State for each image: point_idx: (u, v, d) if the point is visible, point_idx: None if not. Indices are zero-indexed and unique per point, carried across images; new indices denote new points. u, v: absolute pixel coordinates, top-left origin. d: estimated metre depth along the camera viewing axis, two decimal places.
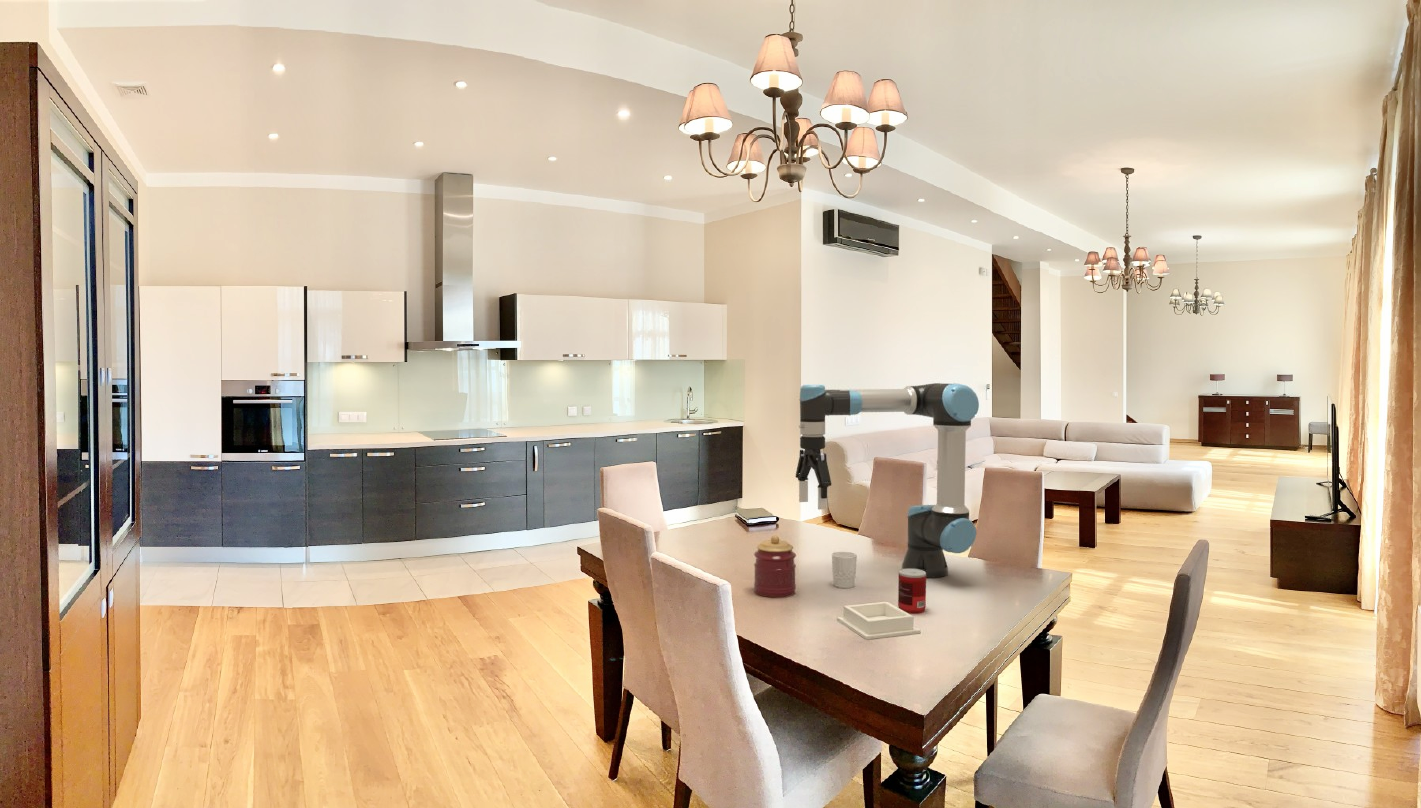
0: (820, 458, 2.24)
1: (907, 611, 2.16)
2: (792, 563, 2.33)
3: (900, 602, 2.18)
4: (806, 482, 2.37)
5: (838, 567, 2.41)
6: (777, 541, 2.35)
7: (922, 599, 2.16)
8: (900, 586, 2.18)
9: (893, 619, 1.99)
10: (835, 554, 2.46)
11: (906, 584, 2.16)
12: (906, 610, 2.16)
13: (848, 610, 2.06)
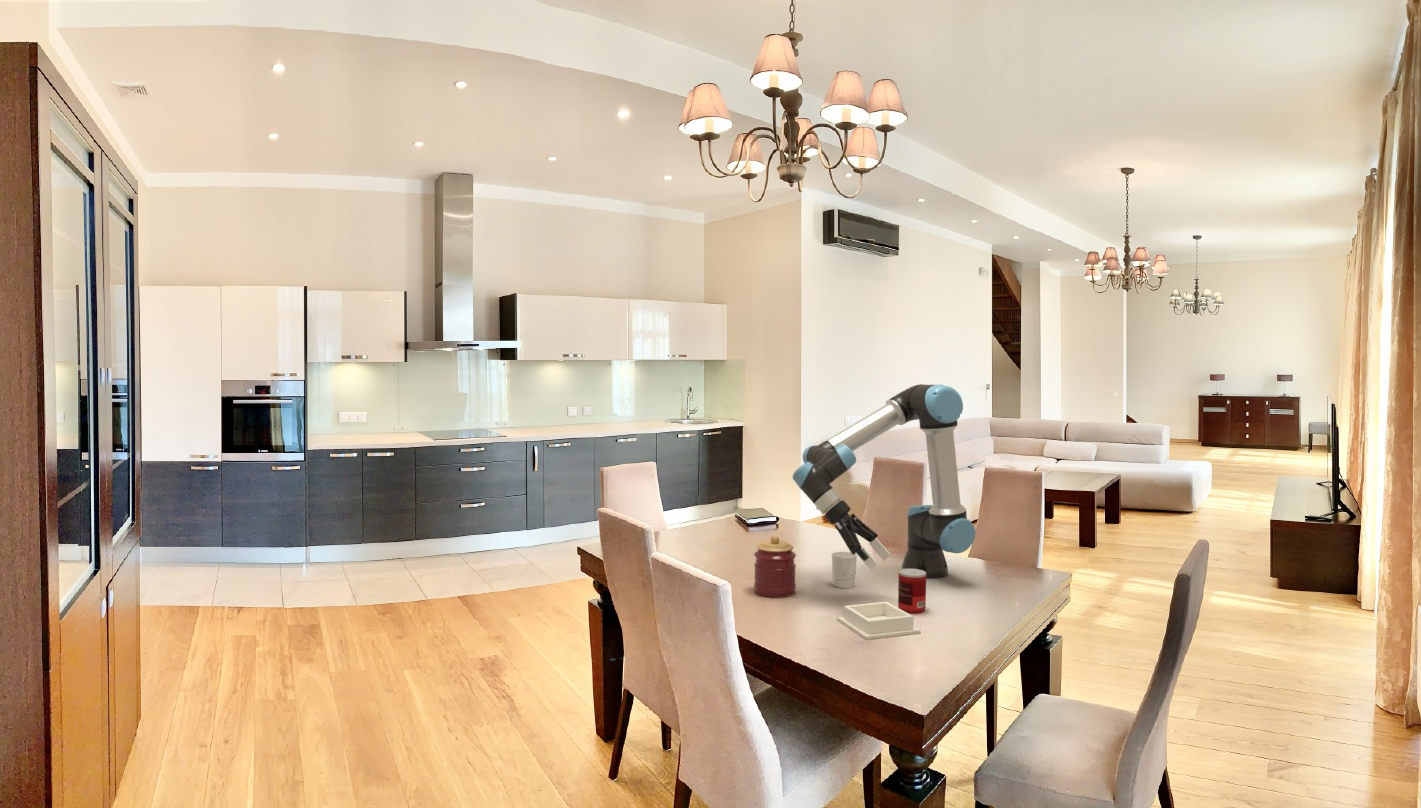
0: (838, 528, 2.21)
1: (907, 611, 2.16)
2: (792, 563, 2.33)
3: (900, 602, 2.18)
4: (875, 540, 2.30)
5: (838, 567, 2.41)
6: (777, 541, 2.35)
7: (922, 599, 2.16)
8: (900, 586, 2.18)
9: (893, 619, 1.99)
10: (835, 554, 2.46)
11: (906, 584, 2.16)
12: (906, 610, 2.16)
13: (848, 610, 2.06)
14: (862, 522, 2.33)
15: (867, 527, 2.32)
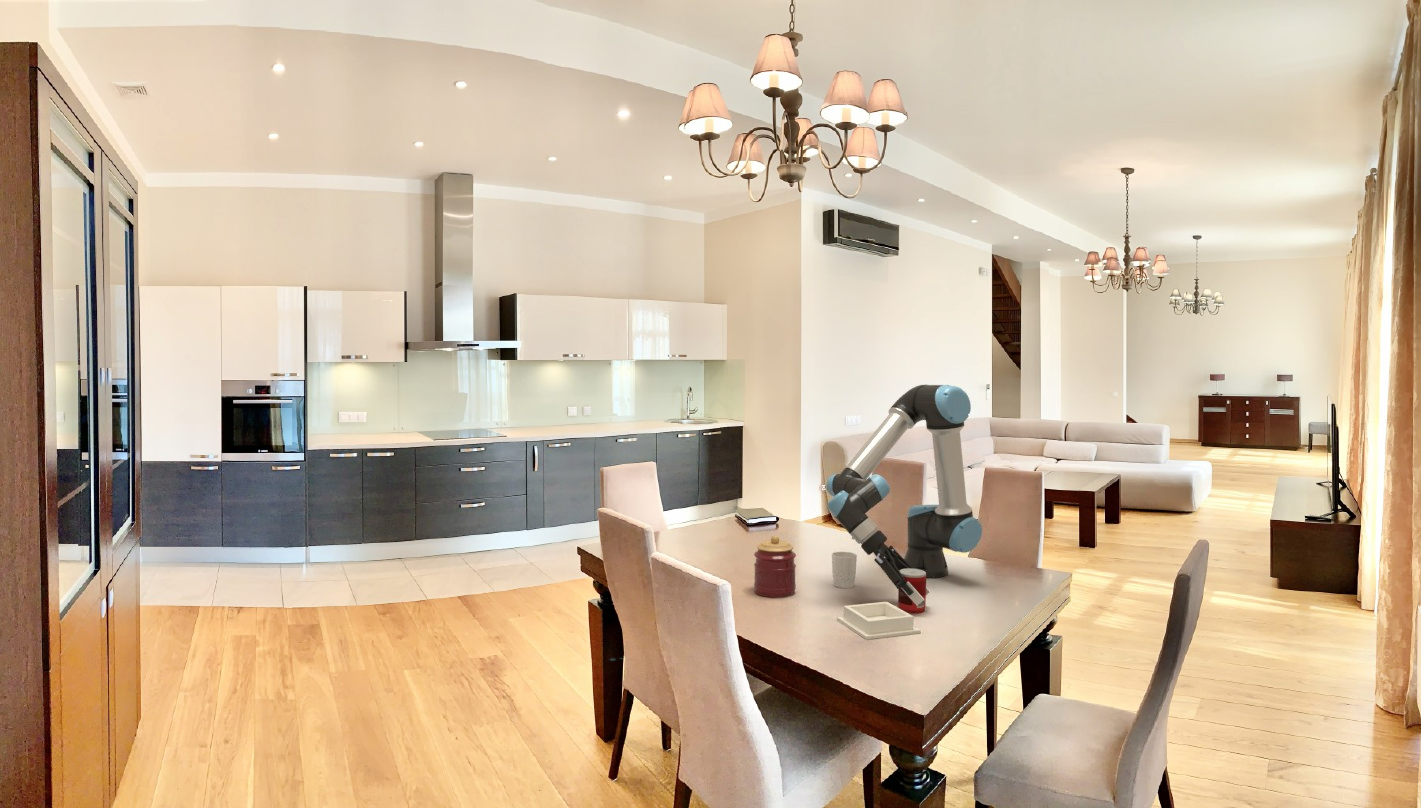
0: (878, 562, 2.17)
1: (907, 611, 2.16)
2: (792, 563, 2.33)
3: (900, 602, 2.18)
4: None
5: (838, 567, 2.41)
6: (777, 541, 2.35)
7: None
8: None
9: (893, 619, 1.99)
10: (835, 554, 2.46)
11: None
12: (906, 610, 2.16)
13: (848, 610, 2.06)
14: (900, 555, 2.27)
15: (905, 561, 2.26)
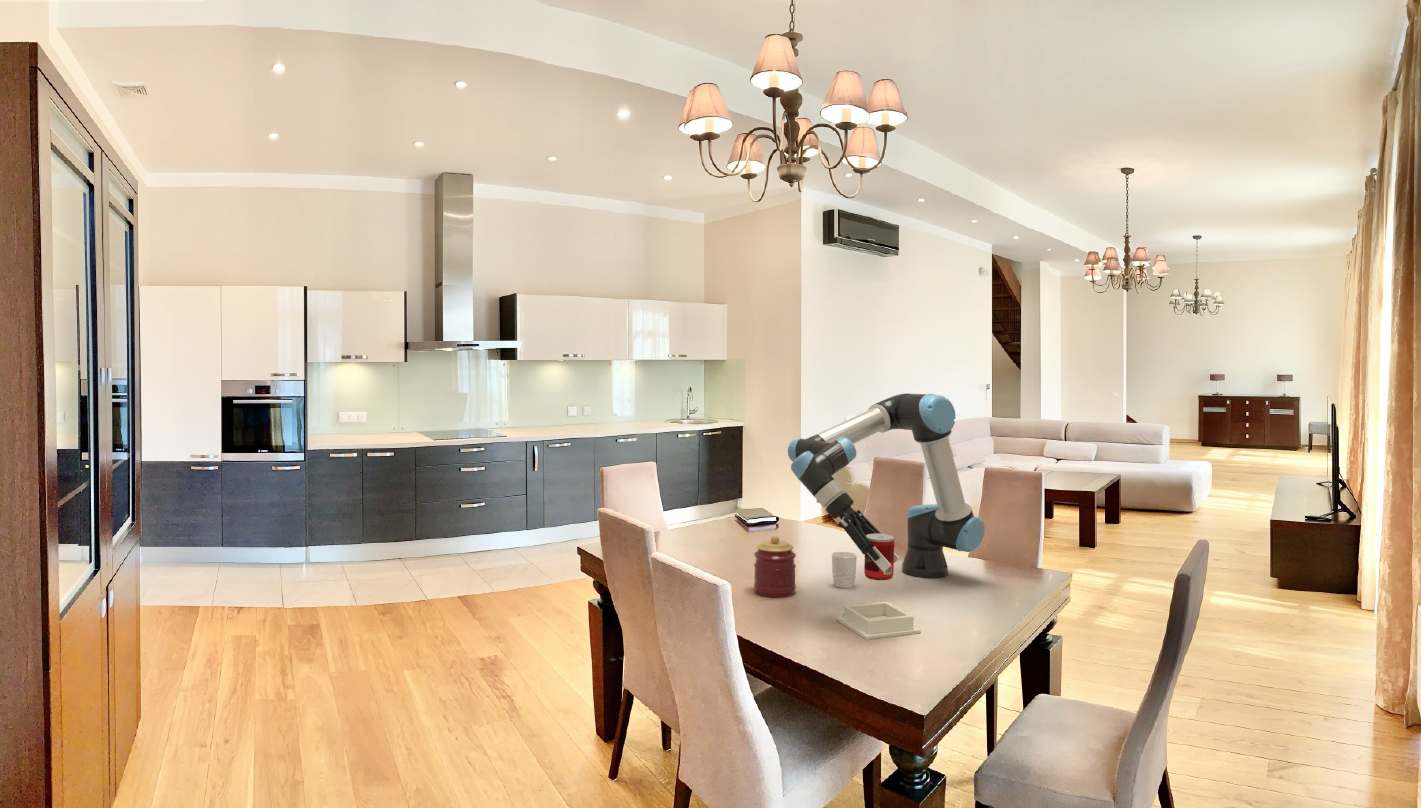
0: (843, 526, 2.02)
1: (873, 578, 2.02)
2: (792, 563, 2.33)
3: (866, 568, 2.04)
4: None
5: (838, 567, 2.41)
6: (777, 541, 2.35)
7: None
8: None
9: (893, 619, 1.99)
10: (835, 554, 2.46)
11: None
12: (872, 577, 2.02)
13: (848, 610, 2.06)
14: None
15: (873, 526, 2.12)
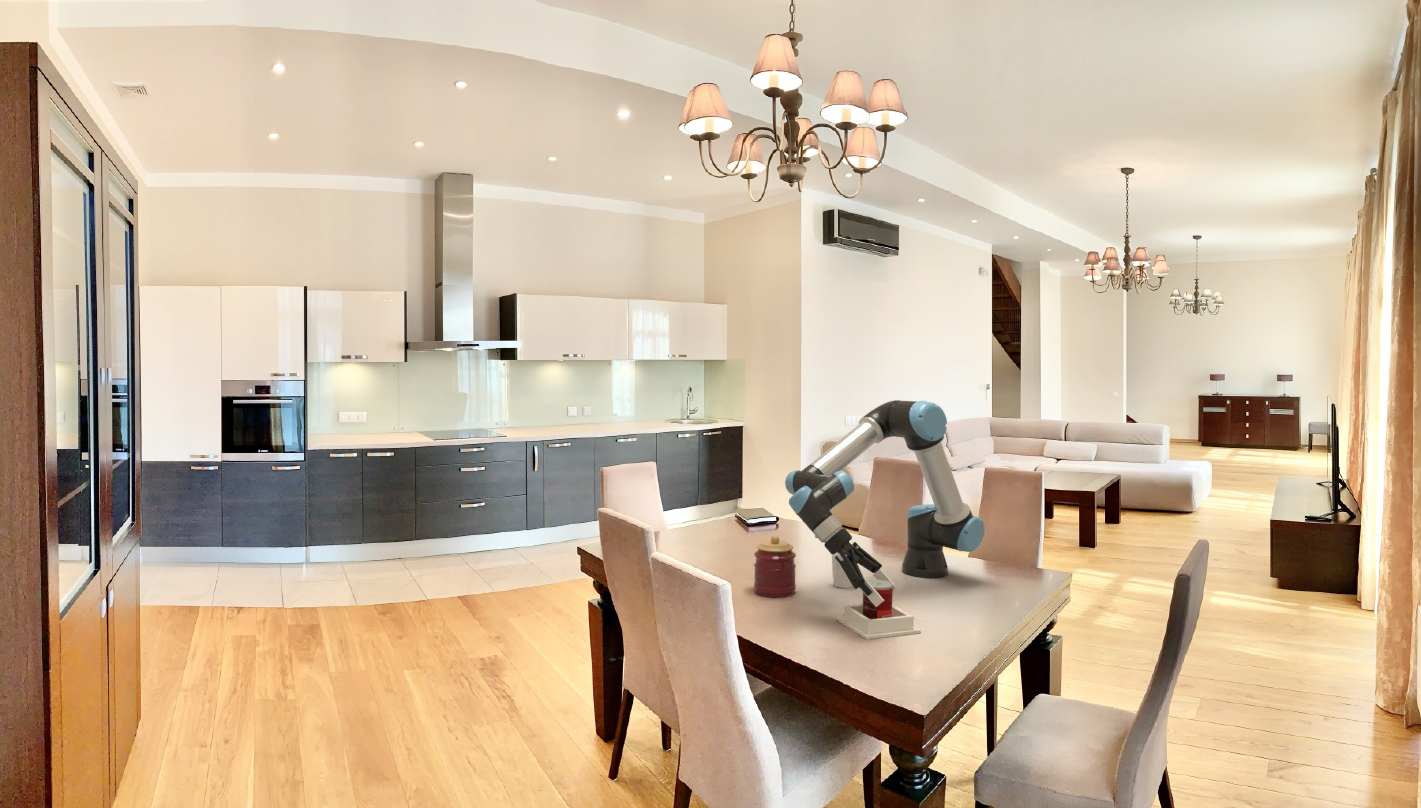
0: (839, 560, 2.02)
1: None
2: (792, 563, 2.33)
3: None
4: (879, 571, 2.11)
5: (838, 567, 2.41)
6: (777, 541, 2.35)
7: (888, 613, 2.01)
8: (864, 598, 2.03)
9: (893, 619, 1.99)
10: (835, 554, 2.46)
11: None
12: None
13: (848, 610, 2.06)
14: (865, 551, 2.13)
15: (870, 556, 2.13)
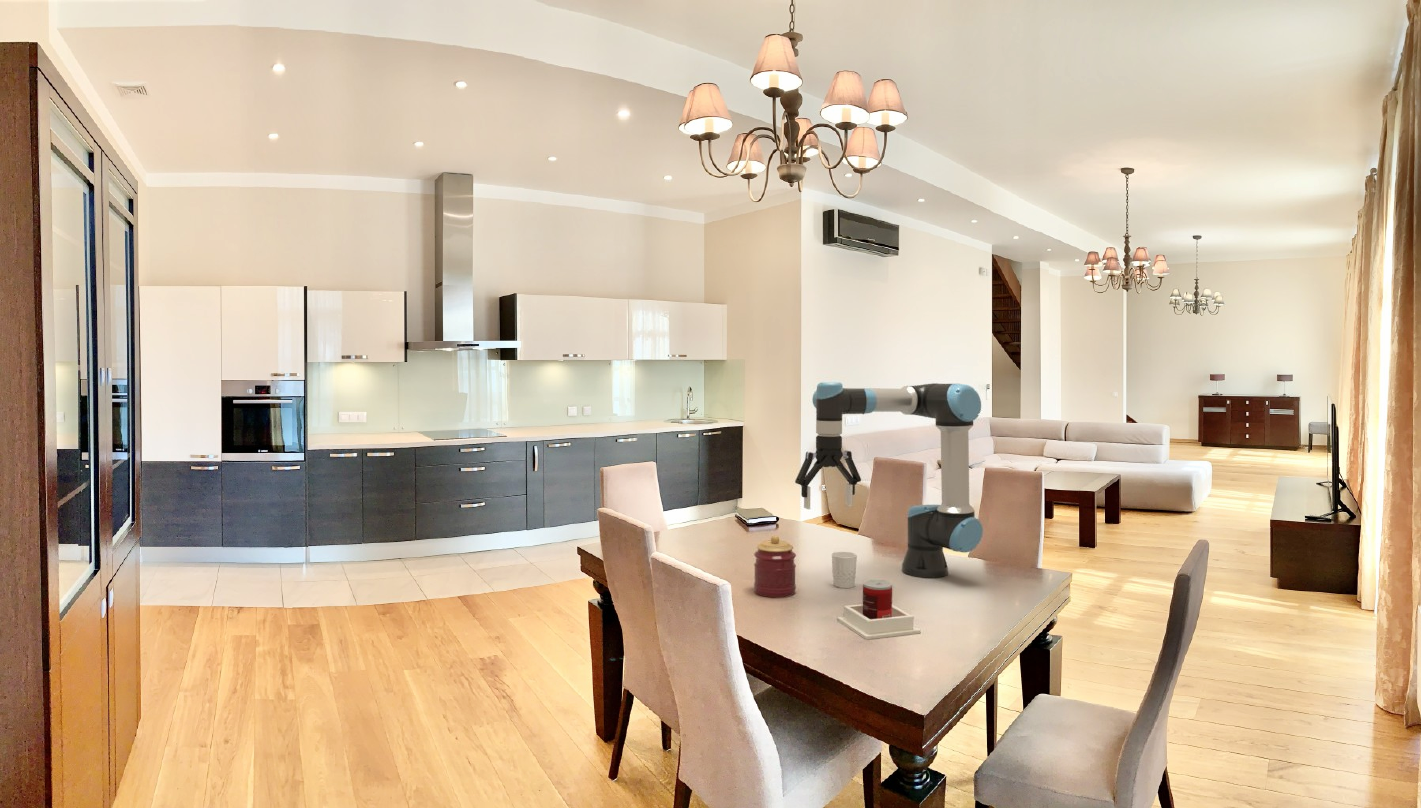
0: (806, 456, 2.21)
1: None
2: (792, 563, 2.33)
3: None
4: (849, 486, 2.24)
5: (838, 567, 2.41)
6: (777, 541, 2.35)
7: (888, 613, 2.01)
8: (864, 599, 2.03)
9: (893, 619, 1.99)
10: (835, 554, 2.46)
11: (871, 597, 2.01)
12: None
13: (848, 610, 2.06)
14: (853, 464, 2.24)
15: (854, 471, 2.24)
